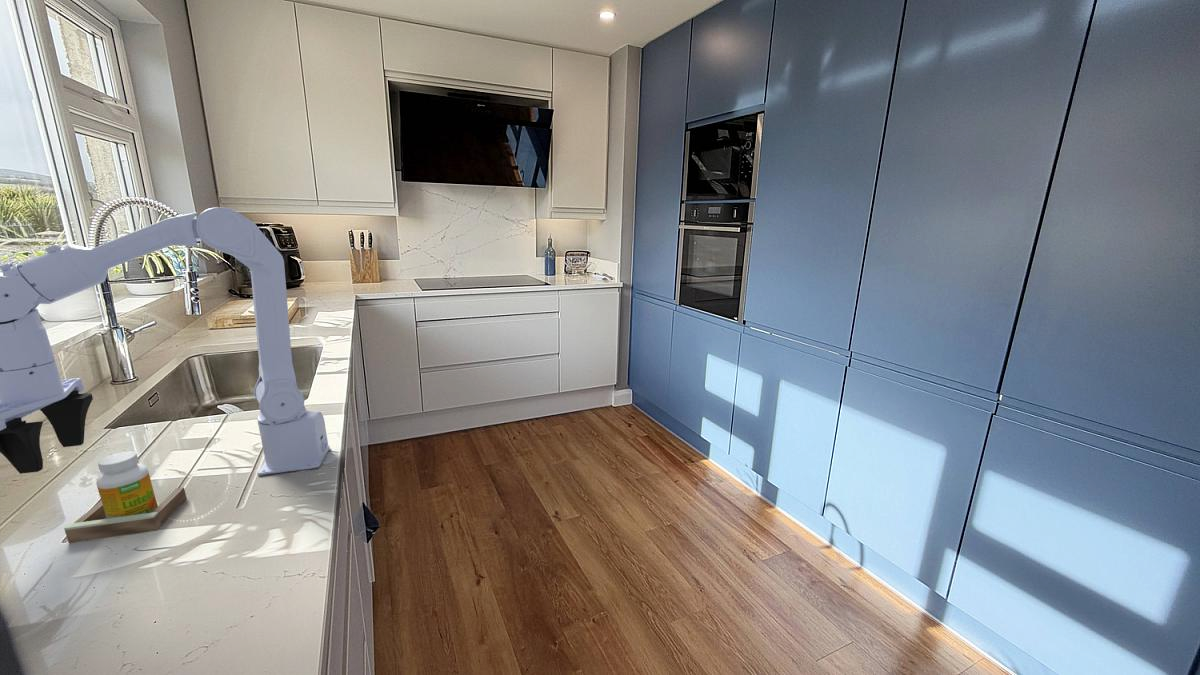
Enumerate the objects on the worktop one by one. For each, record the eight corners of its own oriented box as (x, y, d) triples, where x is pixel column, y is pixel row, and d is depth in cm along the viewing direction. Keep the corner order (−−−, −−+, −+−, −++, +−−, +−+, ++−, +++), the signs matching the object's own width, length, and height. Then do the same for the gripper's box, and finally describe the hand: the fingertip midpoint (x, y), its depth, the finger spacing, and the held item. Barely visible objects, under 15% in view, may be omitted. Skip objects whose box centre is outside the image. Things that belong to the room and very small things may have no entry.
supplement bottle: (128, 531, 69) (110, 469, 66) (98, 526, 70) (79, 465, 67) (168, 508, 74) (152, 450, 71) (139, 504, 75) (123, 447, 72)
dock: (186, 498, 76) (183, 485, 76) (157, 530, 69) (153, 515, 68) (108, 509, 74) (104, 495, 73) (68, 542, 66) (64, 528, 66)
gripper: (29, 352, 70) (57, 438, 74) (-73, 386, 57) (-33, 490, 60) (90, 348, 72) (114, 432, 76) (5, 380, 59) (39, 481, 62)
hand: (53, 457), depth 68 cm, fingers open, 7 cm apart
